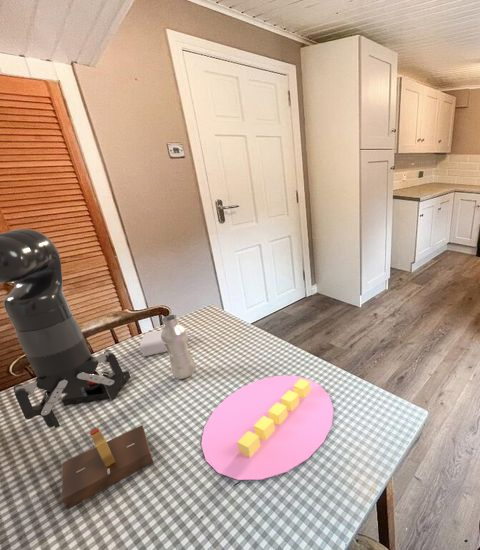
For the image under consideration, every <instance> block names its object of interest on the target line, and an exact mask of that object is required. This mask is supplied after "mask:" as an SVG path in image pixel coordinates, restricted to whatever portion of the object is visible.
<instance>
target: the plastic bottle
mask: <svg viewBox="0 0 480 550" xmlns="http://www.w3.org/2000/svg"><path fill="white" fill-rule="evenodd" d="M161 321H162V326H163V329H162V330H163V331H162V333H161V339H162V341H163V343H164V345H165V347H166V349H167V354H168V358H169V363H170V372H171V374H172V376H173V377H174V378H176V379H179V380H183V379H187V378H189V377H191V376H192V375H193V374H194V373H195V372H196V367H197V366H196V362H195V360H194V358H193V356H192V354H191V351H190V348H189V343H188V340H187V332H188V331H187V329H186V328H185V327H184V325H182V324H180V323H179V319H178V316H177V315H176V314H169V315H166V316H163V317H162V318H161Z"/></svg>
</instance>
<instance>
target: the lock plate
mask: <svg viewBox="0 0 480 550" xmlns="http://www.w3.org/2000/svg"><path fill="white" fill-rule="evenodd" d="M106 442H107V444H108V447H109V449H110V451H111V453H112V455H113V458H114V460H115V463H113V464H111V465H110V466H108V467H105V465H104V463H103V461H102V459H101V457H100V455H99V453H98V451H97V449H96V446H94V447H93V448H91V449H87V450H86V451H84V452H82V453H79V454H78V455H75V456H73V457H71V458H69V459H67V460H65V461H62V474H61V475H62V478H61V479H62V483H61V501H62V502H63V504H64V505H65V507H66V509H67V510H69V509H72V508H73V507H75V506H77V505H78V504H80V503H81V504H82V503H83V502H84V501H86V500H89V498H92V497H94V496H95V495H97V494H100V493H101V492H102V491H104V490H107V489H108V488H110V487H112V486H113V485H116V484H117V483H120V482H121V481H123V480H124V479H126V478H129V477H130V476H132V475H133V474H135V473H138V472H139V471H141V470H143V469H144V468H146V467H148V466H150V465H152V464H153V463H154V462H155V461H154V458H153V454H152V450H151V447H150V444H149V439H148V437H147V432H146V430H145V428H144V425H143V424H141V425H139V426H137V427H135V428H133V429H131V430H129V431H126V432H124V433H123V434H122V433H121V434H120V435H118V436H116V437H114V438H112V439H109V440H106Z"/></svg>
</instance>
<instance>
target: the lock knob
mask: <svg viewBox="0 0 480 550" xmlns="http://www.w3.org/2000/svg"><path fill="white" fill-rule="evenodd" d="M89 436H90V438H91V440H92V442H93V444H94V447H96V449H97V451H98V453H99V455H100V457H101V459H102V461H103V463H104V465H105V467H108V466H110V465H111V464H113V463H115V460H114V458H113V455H112V453H111V451H110V449H109V447H108V444H107V440H106V439H105V437H104V435H103V433H102V431H101V429H100V428H99V427H96V428H94V429H91V431H89Z"/></svg>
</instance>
